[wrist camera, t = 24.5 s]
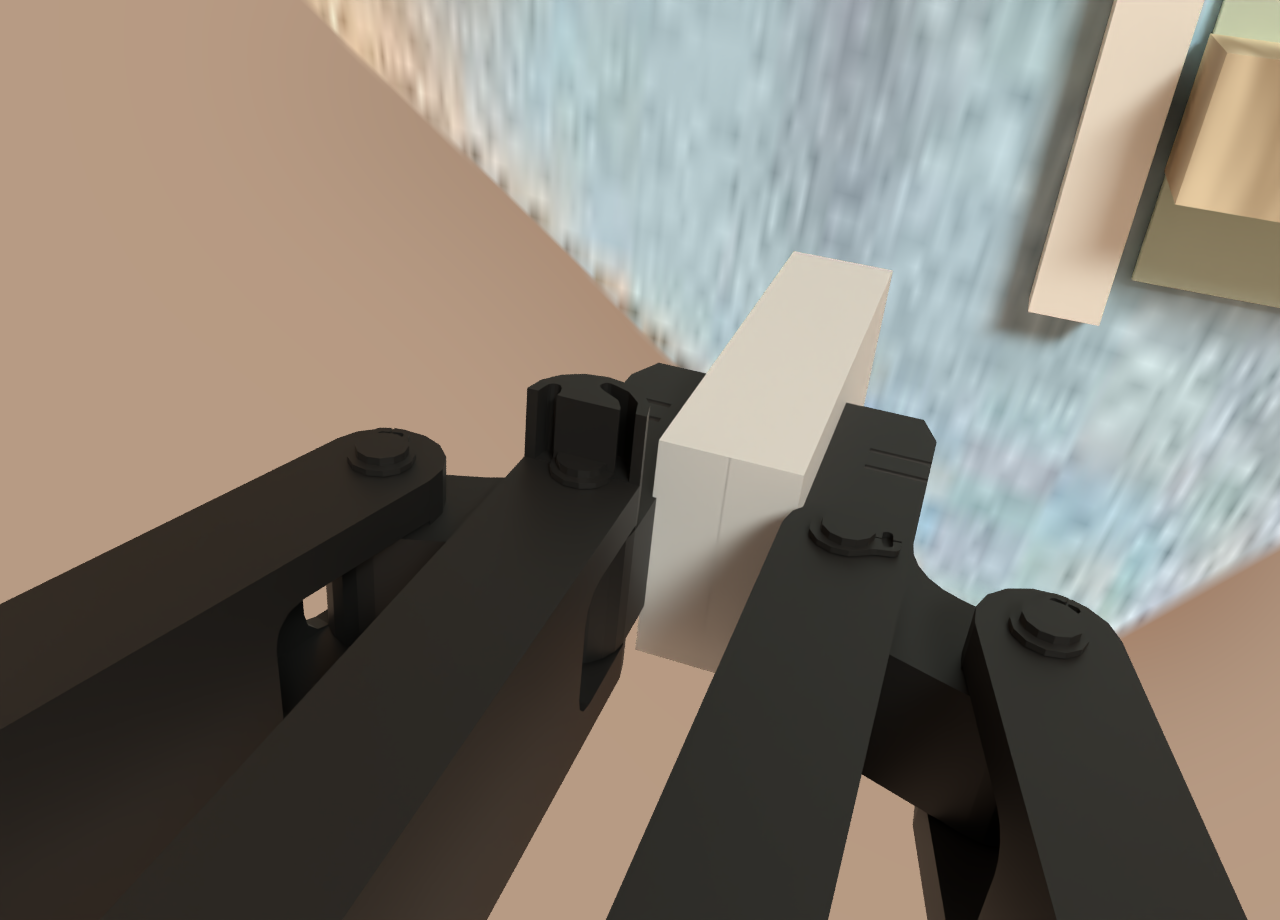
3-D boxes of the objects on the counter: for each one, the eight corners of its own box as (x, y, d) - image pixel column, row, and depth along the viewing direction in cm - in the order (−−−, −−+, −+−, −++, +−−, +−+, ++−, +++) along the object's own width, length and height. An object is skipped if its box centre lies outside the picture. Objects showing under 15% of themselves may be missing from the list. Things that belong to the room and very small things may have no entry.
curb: (1029, 297, 42) (1028, 311, 40) (1147, -118, 35) (1150, -117, 33) (1097, 310, 41) (1099, 325, 40) (1232, -109, 34) (1239, -108, 33)
